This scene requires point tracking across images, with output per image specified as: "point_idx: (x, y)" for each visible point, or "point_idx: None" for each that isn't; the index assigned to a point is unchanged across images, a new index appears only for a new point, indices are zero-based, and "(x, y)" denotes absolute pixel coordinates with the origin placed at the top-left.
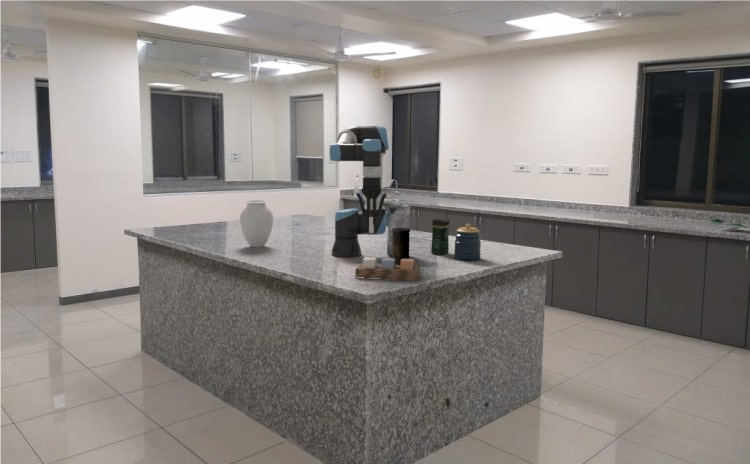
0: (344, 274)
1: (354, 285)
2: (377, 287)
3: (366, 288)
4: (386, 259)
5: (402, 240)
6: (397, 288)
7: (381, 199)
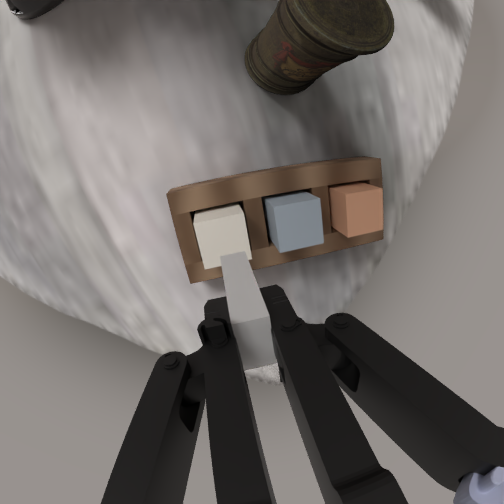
0: (134, 233)
1: None
2: None
3: None
4: (294, 231)
5: (343, 61)
6: None
7: (441, 473)
